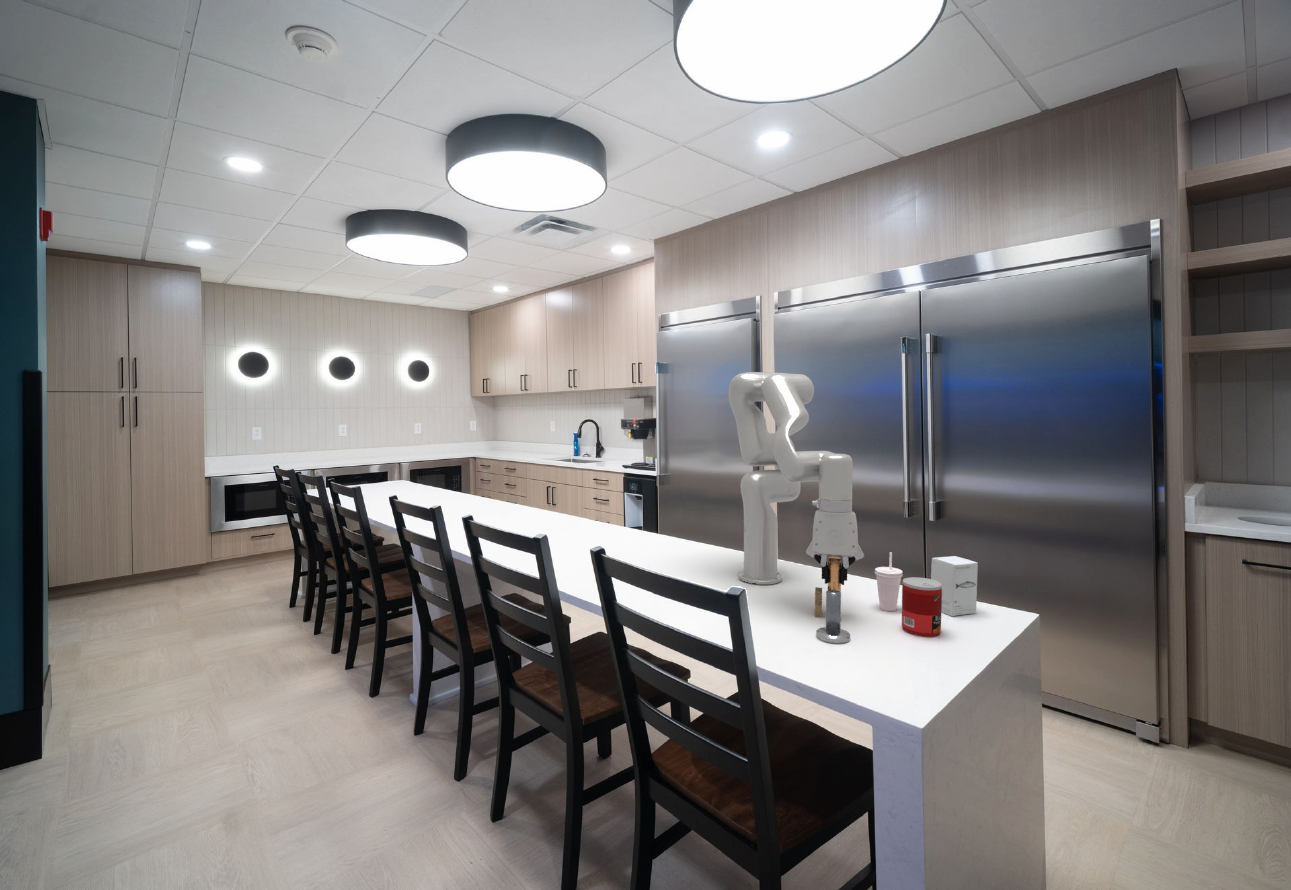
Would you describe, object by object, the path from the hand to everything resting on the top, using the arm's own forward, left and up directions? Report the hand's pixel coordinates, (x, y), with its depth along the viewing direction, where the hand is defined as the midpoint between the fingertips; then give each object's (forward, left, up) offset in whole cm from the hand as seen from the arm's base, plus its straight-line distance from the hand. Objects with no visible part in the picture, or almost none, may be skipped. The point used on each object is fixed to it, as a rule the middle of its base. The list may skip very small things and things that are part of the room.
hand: (834, 582), depth 141 cm
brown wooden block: (0, -4, -8) cm, 9 cm away
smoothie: (-9, +13, -8) cm, 18 cm away
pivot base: (+14, 0, -8) cm, 16 cm away
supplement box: (-12, +28, -9) cm, 31 cm away
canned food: (+4, +18, -8) cm, 21 cm away
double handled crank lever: (+7, 0, -7) cm, 10 cm away
